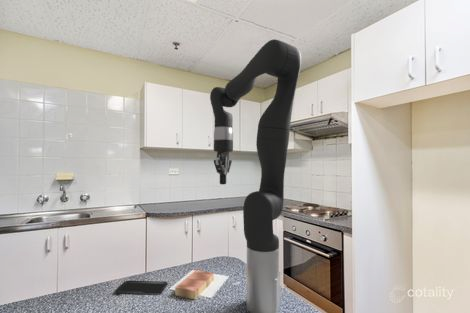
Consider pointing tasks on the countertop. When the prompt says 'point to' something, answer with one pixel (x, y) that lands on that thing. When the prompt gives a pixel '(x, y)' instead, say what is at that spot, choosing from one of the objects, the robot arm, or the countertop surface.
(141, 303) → the countertop surface
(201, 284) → the brown flat rectangular block
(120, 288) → the phone
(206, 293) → the white square pad
